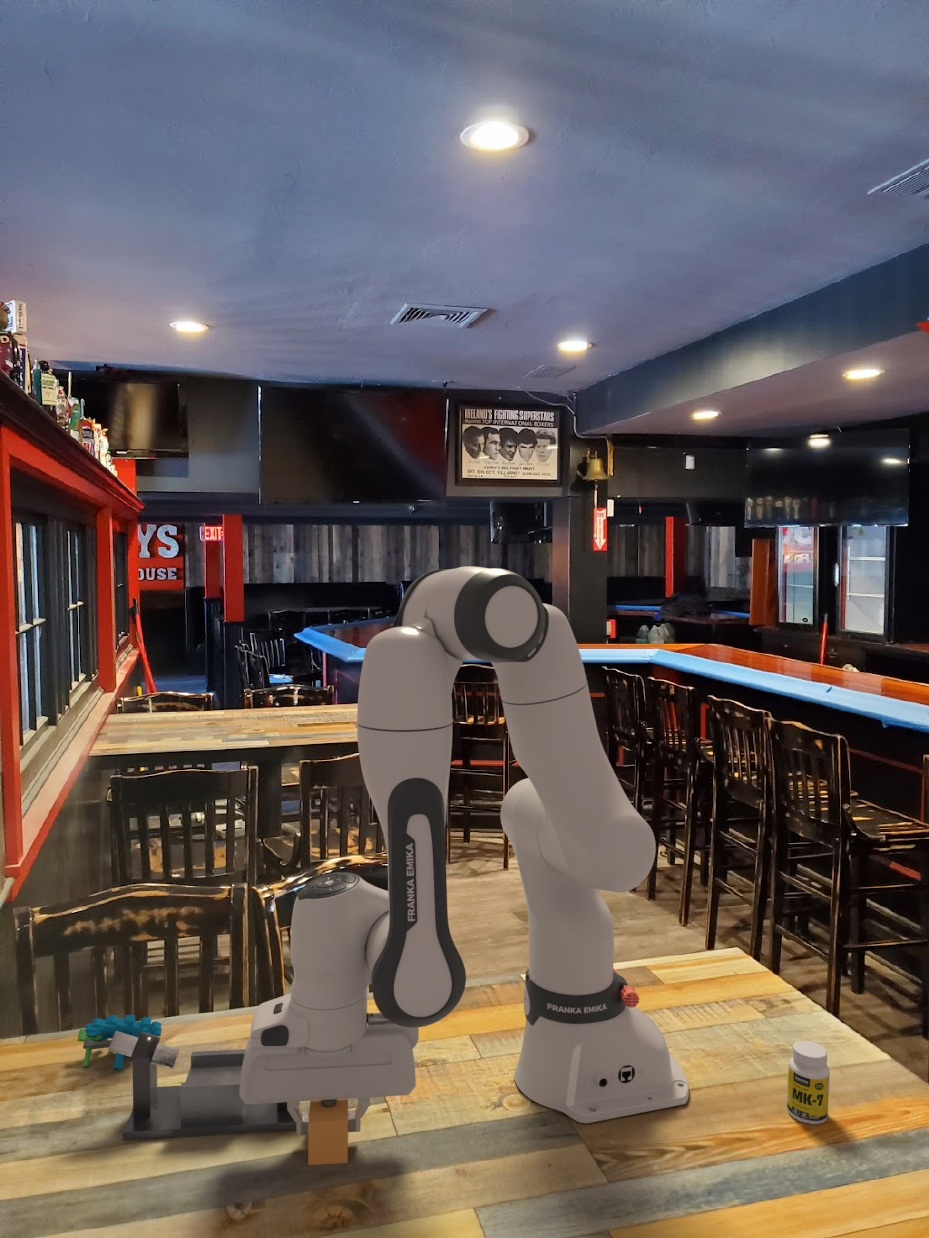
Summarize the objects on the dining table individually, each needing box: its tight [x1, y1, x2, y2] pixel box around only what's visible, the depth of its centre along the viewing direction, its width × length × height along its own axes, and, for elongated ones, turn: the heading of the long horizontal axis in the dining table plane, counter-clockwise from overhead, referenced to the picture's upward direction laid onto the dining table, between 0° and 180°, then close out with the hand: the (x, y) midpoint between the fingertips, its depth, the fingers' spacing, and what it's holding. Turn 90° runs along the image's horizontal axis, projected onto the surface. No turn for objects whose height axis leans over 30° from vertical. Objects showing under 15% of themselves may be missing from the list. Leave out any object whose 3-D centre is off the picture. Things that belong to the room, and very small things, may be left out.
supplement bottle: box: [786, 1040, 831, 1125], centre depth 111 cm, size 5×5×8 cm
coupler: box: [307, 1099, 349, 1166], centre depth 104 cm, size 7×4×6 cm, turn 7°
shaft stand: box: [107, 1031, 297, 1141], centre depth 110 cm, size 25×9×11 cm, turn 97°
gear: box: [77, 1014, 163, 1070], centre depth 121 cm, size 11×6×10 cm
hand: (328, 1130), depth 104 cm, fingers closed on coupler, 4 cm apart
